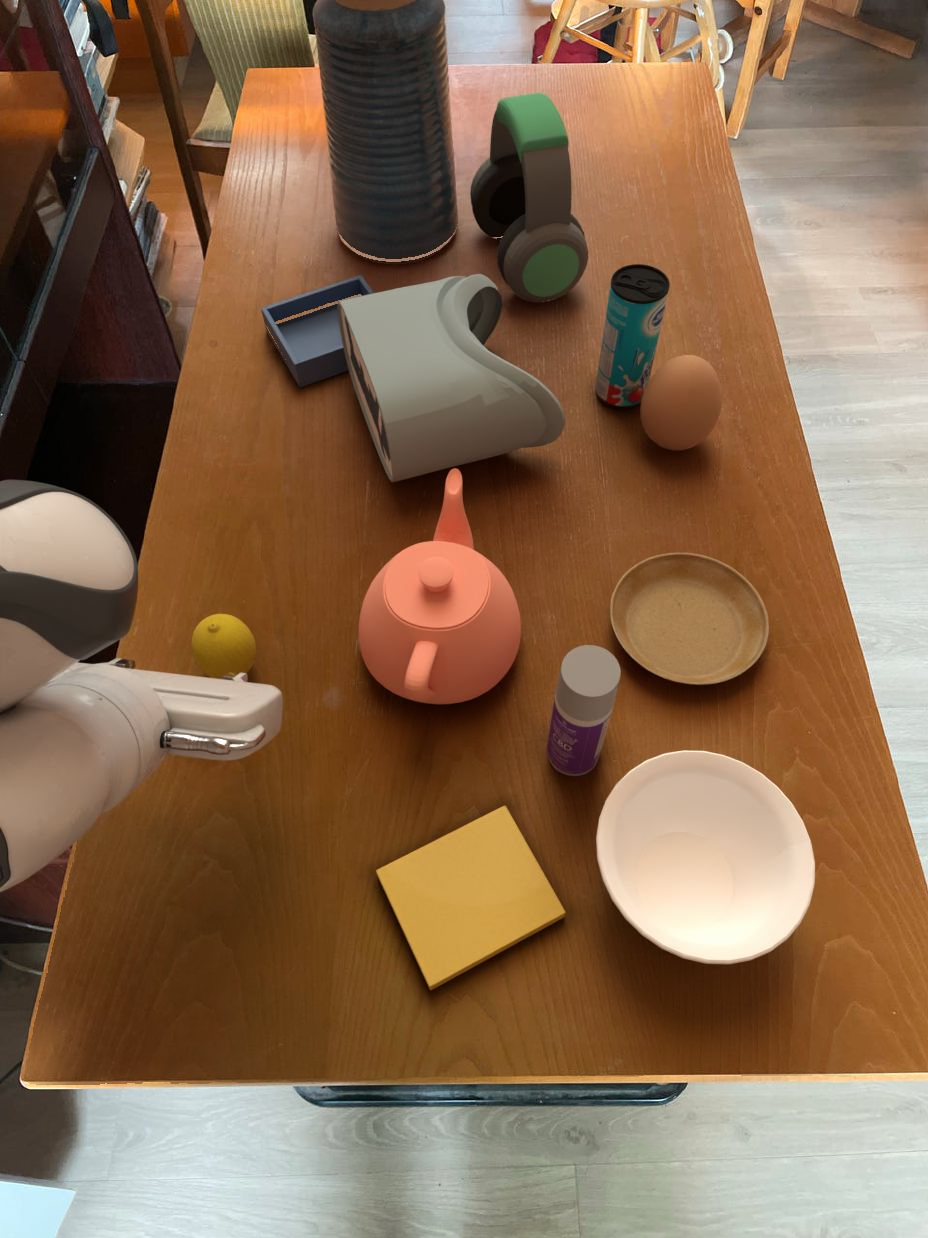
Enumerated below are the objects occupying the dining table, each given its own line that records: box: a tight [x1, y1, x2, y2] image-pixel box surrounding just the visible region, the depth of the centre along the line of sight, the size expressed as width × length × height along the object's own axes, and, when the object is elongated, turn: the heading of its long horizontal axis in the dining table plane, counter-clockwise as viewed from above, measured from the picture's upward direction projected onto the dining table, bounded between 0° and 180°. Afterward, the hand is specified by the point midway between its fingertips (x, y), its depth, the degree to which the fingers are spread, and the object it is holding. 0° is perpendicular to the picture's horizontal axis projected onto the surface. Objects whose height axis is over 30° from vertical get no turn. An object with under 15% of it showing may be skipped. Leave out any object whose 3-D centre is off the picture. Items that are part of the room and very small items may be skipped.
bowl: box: [595, 750, 816, 965], centre depth 68 cm, size 16×16×9 cm
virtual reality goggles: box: [337, 273, 566, 483], centre depth 95 cm, size 22×19×13 cm
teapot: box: [357, 467, 522, 705], centre depth 79 cm, size 22×15×12 cm
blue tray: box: [260, 274, 375, 388], centre depth 106 cm, size 13×11×4 cm
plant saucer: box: [609, 552, 770, 686], centre depth 83 cm, size 15×15×3 cm
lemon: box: [191, 613, 257, 679], centre depth 80 cm, size 6×6×8 cm
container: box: [546, 644, 622, 777], centre depth 72 cm, size 5×5×15 cm
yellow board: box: [375, 805, 566, 991], centre depth 71 cm, size 12×10×2 cm
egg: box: [640, 354, 723, 451], centre depth 93 cm, size 8×8×11 cm
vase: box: [312, 0, 459, 265], centre depth 105 cm, size 16×16×32 cm
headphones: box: [469, 92, 589, 303], centre depth 106 cm, size 19×11×20 cm, turn 15°
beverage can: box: [594, 263, 671, 410], centre depth 95 cm, size 6×6×15 cm
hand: (182, 674), depth 71 cm, fingers open, 8 cm apart
